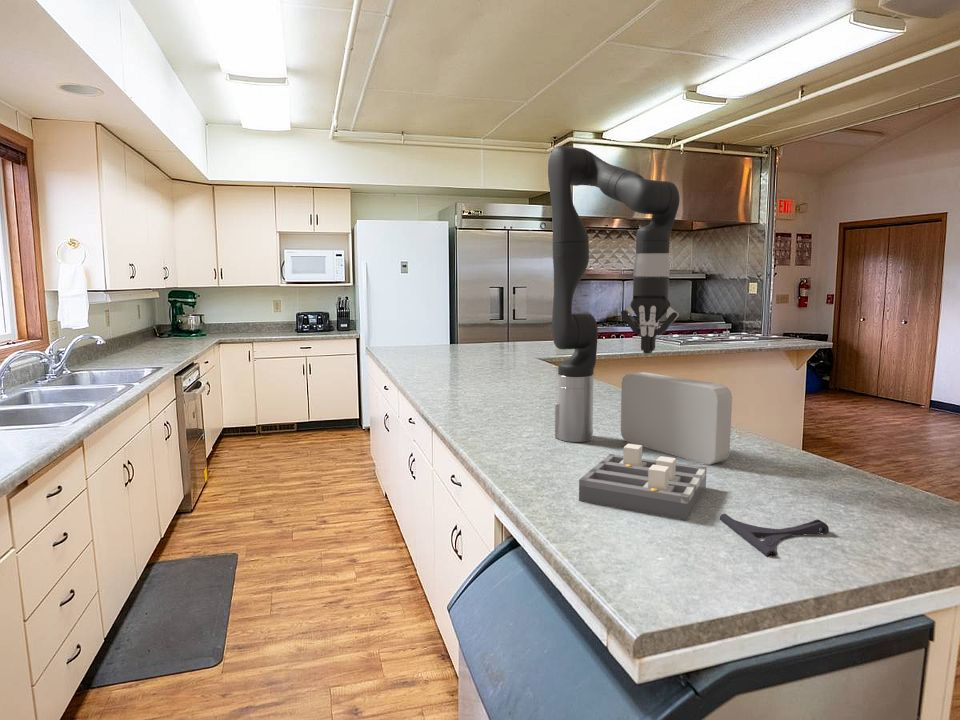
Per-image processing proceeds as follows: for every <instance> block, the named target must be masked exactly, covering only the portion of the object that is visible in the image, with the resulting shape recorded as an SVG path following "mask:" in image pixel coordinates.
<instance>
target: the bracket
mask: <svg viewBox="0 0 960 720" xmlns="http://www.w3.org/2000/svg"><path fill="white" fill-rule="evenodd" d="M719 521H721V522H722V523H723V524H725V525H726V526H727V527H728V528H730V529H731V531H732V530H733V532H735V533H736V534H737V535H739V536H740V537H741V538H742V539H743V540H744V541H746V542H747V543H748V544H749V545H751V546H752V547H754V548H755V549H756V550H757V551H759V553H761V554H762V555H764V556H765V557H766V558H769V555H770V554H771V555H772V556H773V557H777V554H778V553H777V549H776V547H777V545H778V544H779V542H780V540H781V541H783V540H785V539H788V538H790V536H791V537H794V536H793V535H797V536H805V535H804V534H815V535H821V534H820V533H819V531H820V532H821V533H823V534H822V535H827V534H826V533H828V534H829V532H830V528H829V525H828V524H827V523H826V522H824V521H822V520H820V519H817V518H816V519H814V520H811V521H808V522H805V523H802V524H799V525H794V526H790V527H783V528H770V527H762V526H757V525H752V524H749V523H744V522H742V521H739V520H736V519H733V518H732V517H731V516H729V515H728V514H727V513H721V514H720V515H719ZM822 530H823V531H822ZM760 538H764V540H760ZM784 538H785V539H784ZM782 539H783V540H782Z"/></svg>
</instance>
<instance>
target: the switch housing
mask: <svg viewBox="0 0 960 720" xmlns="http://www.w3.org/2000/svg"><path fill="white" fill-rule="evenodd" d="M623 456H624V455H620V454H611V453H610V454H608V455H607V456H606V457H605V458H603V460H601V461H600V462H598V463H597V464H596V465H595V466H594V467H592V468H591V469H590V470H589V471H587V472H586V473H585V474H584V475H583V476H582V477H580V478H579V479H578V501H581V502H585V503H591V504H596V505H602V506H606V507H612V508H618V509H624V510H629V511H633V512H639V513H645V514H650V515H655V516H660V517H661V516H662V517H666V518H671V519H677V520H683V521H688V520H689V518H690V516H691V514H692V513H693V511H694V509H695V507H696V505H698V502H699V501H700V498H701V497H702V495H703V493H704V492H705V490H706V488H707V469H708V468H707V467H706V466H700V465H699V466H698V465H691V464H686V463H685V464H684V463H677V462H676V468H675V476H678V477H681V480H680V482H676V481H670V480H669V486H674V491H673V492H670V491H664V490H658V489H656V488H645V487H643V486H644V485H645V484H646V483H647V482H648V469H649V468H650V467H651V466H652V465H656V460H657V459H655V460H654V459H648V458H642V462H646V463H647V466H646V467H642V466H635V465H630V464H621V463H620V462H621V461H622V460H623Z"/></svg>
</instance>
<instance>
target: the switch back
mask: <svg viewBox="0 0 960 720" xmlns="http://www.w3.org/2000/svg"><path fill="white" fill-rule="evenodd" d="M622 456H623V460H622V461H621V462H620V463H621V464H630V465H635V466H642V467H646V466H647V463H646V462H642V459H643V446H642V445H636V444H633V443H627V444H626V445H624V447H623V455H622Z"/></svg>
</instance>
